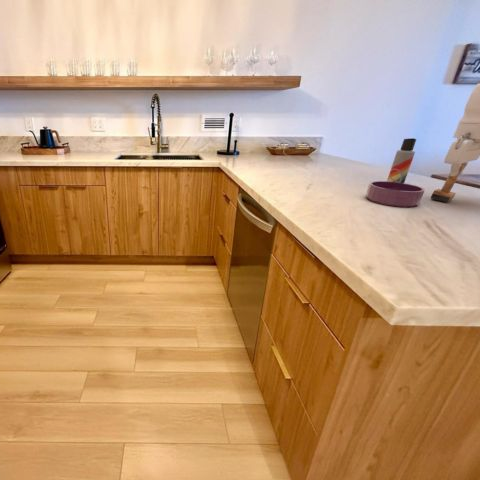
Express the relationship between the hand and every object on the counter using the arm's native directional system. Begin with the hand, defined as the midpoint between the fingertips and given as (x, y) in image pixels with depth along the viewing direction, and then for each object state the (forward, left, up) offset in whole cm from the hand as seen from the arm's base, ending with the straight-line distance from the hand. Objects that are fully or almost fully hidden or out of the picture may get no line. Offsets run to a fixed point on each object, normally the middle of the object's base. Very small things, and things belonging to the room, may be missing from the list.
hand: (454, 175), depth 99 cm
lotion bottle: (+18, -5, -10) cm, 21 cm away
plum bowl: (+10, +16, -9) cm, 21 cm away
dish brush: (+1, 0, -9) cm, 9 cm away
